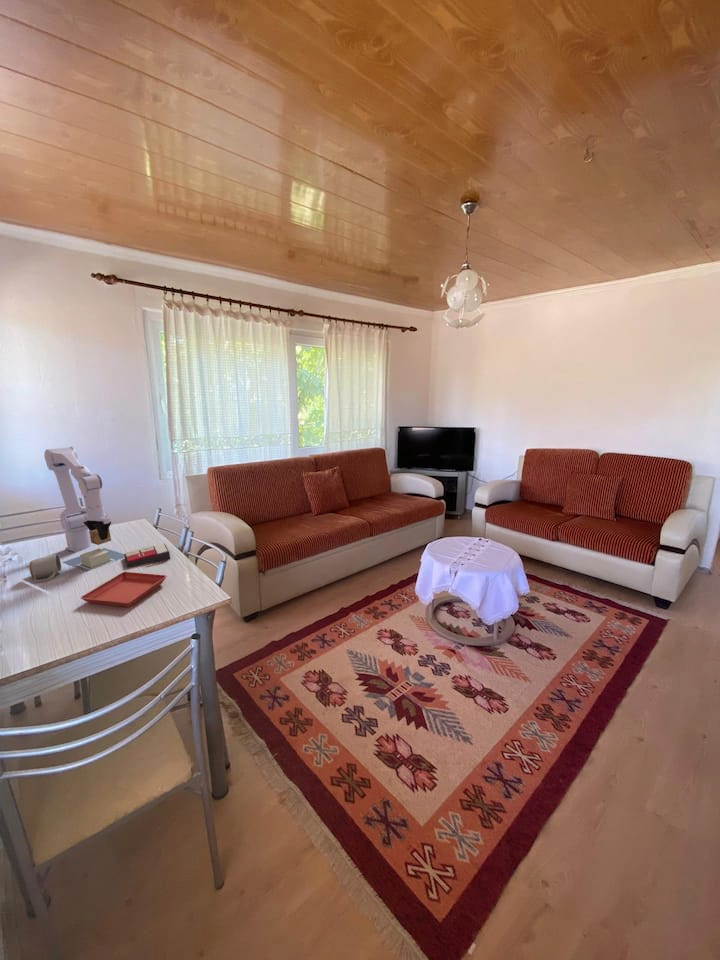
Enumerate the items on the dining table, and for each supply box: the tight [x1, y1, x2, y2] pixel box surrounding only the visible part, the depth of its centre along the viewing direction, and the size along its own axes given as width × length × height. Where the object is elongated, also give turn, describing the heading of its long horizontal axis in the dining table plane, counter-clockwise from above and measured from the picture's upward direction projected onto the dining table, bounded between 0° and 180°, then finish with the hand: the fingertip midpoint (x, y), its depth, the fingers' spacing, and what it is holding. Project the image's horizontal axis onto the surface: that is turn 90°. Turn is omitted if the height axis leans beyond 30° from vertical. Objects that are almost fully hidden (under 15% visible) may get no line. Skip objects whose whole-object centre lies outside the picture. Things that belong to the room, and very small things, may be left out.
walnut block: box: [89, 529, 112, 546], centre depth 155 cm, size 5×5×5 cm
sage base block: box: [79, 548, 110, 568], centre depth 151 cm, size 7×7×4 cm
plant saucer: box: [80, 571, 167, 608], centre depth 129 cm, size 18×18×3 cm
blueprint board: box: [62, 547, 125, 572], centre depth 155 cm, size 18×16×1 cm
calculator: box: [123, 543, 171, 569], centre depth 155 cm, size 11×4×15 cm
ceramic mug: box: [28, 553, 62, 583], centre depth 140 cm, size 11×8×8 cm
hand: (100, 538), depth 155 cm, fingers closed on walnut block, 5 cm apart
